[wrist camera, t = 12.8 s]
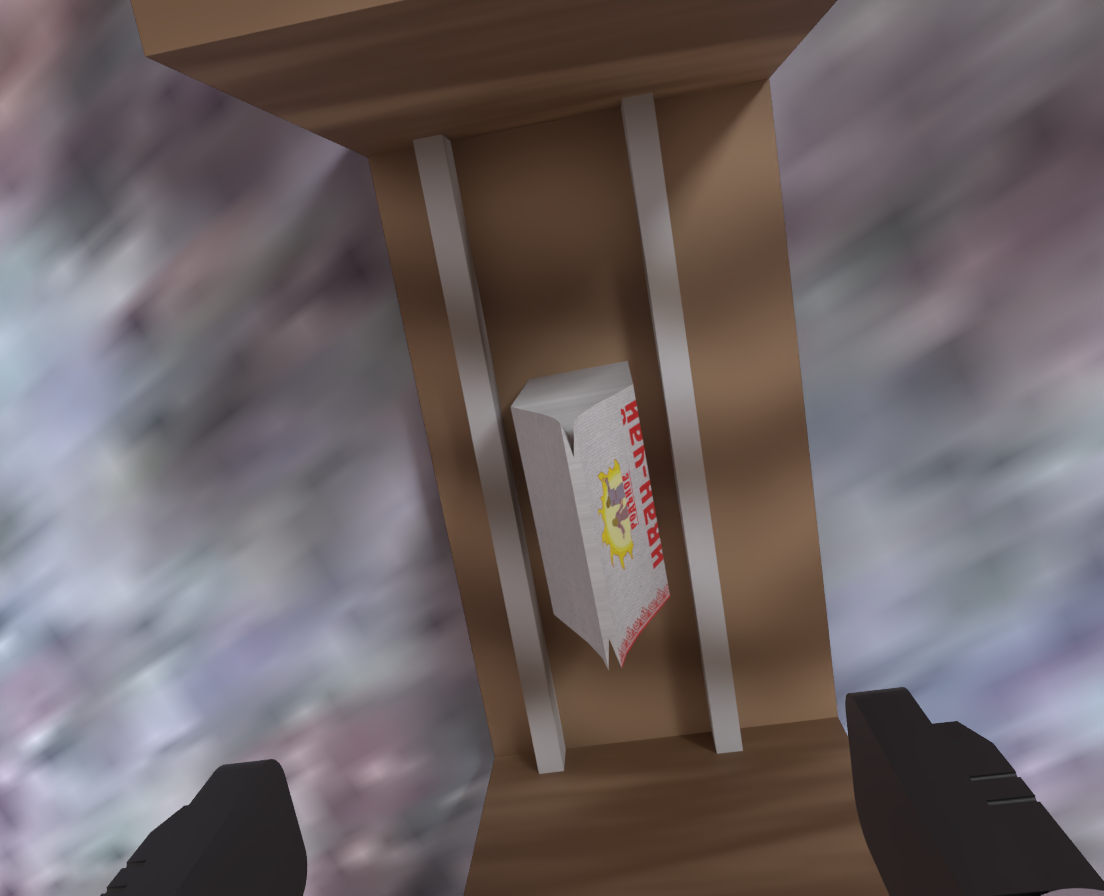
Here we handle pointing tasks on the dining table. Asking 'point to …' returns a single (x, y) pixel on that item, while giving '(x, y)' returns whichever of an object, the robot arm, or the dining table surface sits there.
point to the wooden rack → (584, 342)
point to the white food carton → (592, 503)
